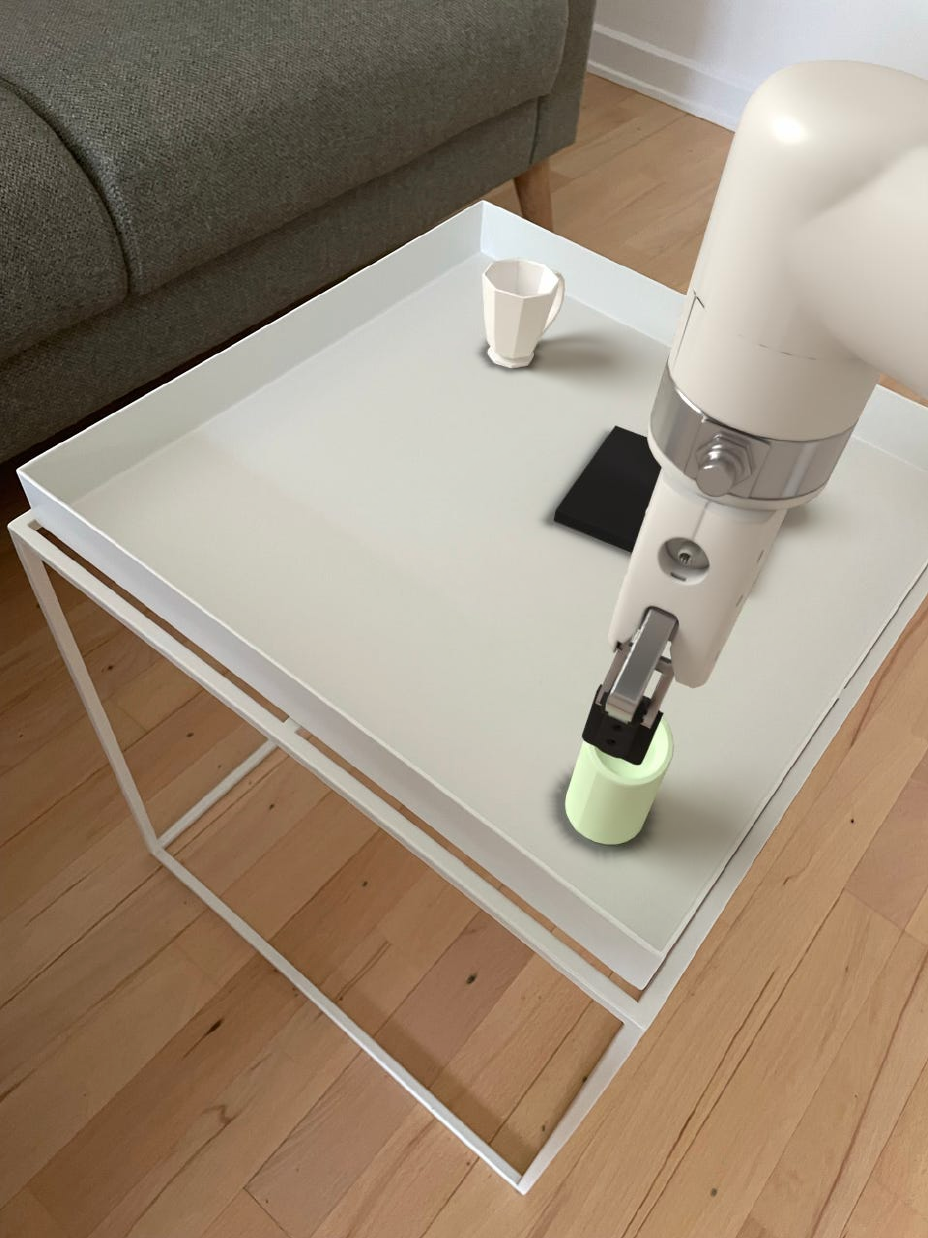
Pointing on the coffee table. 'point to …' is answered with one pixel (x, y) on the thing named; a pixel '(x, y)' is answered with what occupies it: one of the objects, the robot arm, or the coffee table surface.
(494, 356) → the cup
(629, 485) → the scale
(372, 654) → the coffee table surface
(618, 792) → the candle
